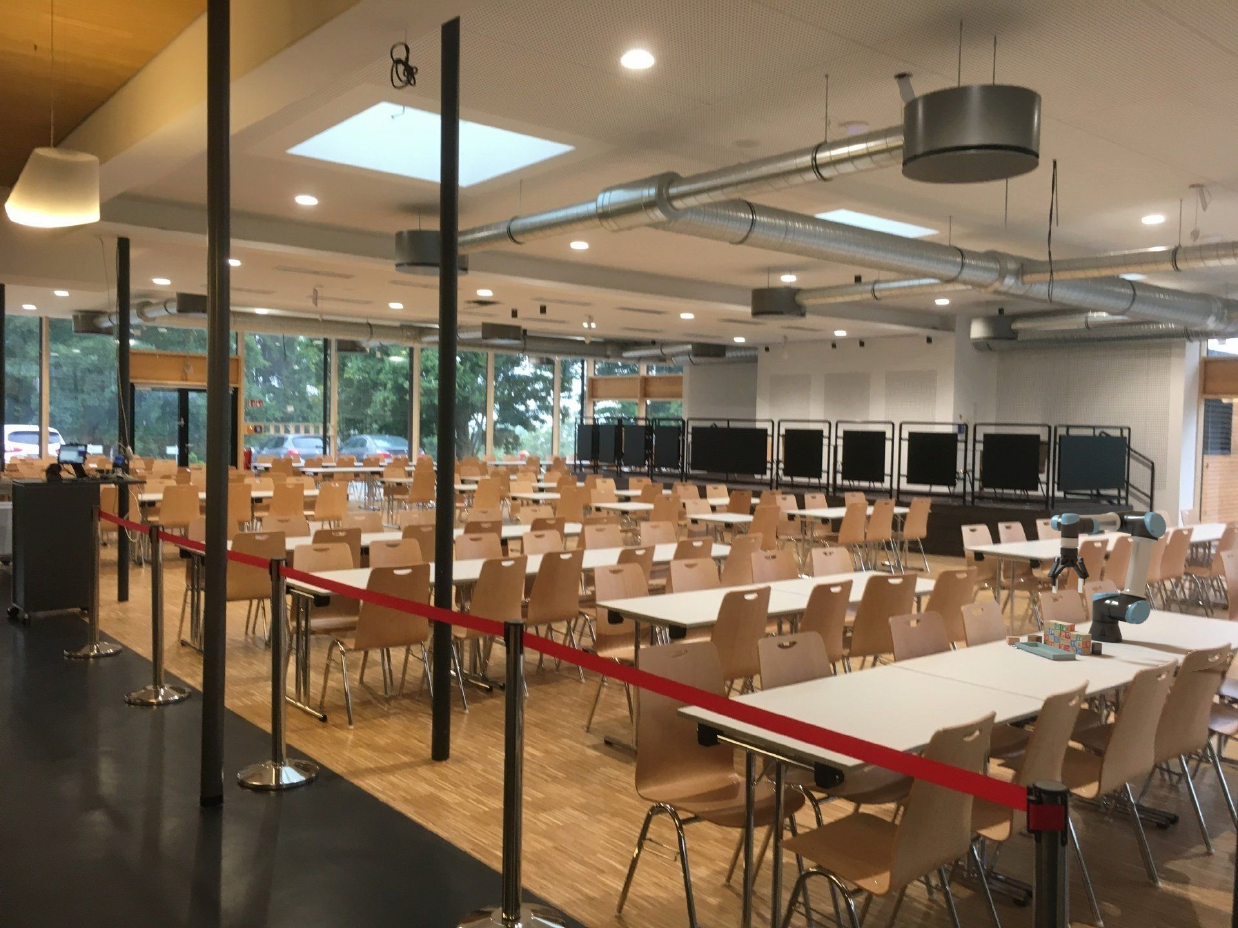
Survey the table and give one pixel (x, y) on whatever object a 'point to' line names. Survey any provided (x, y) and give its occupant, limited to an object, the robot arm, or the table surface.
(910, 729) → the table surface
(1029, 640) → the walnut cube
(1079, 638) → the stack of blocks
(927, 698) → the table surface
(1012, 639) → the terracotta block
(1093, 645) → the metal cylinder
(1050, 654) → the tray
